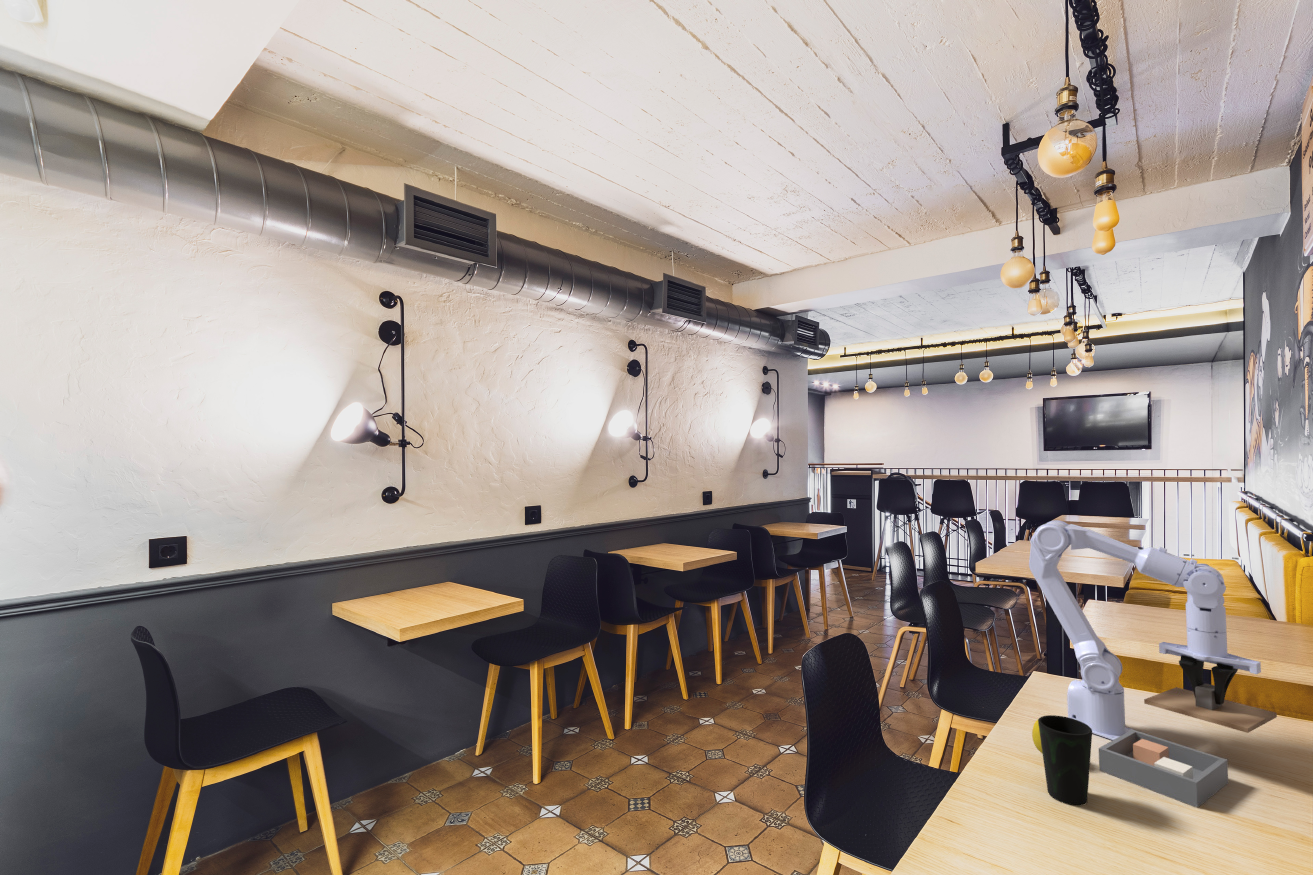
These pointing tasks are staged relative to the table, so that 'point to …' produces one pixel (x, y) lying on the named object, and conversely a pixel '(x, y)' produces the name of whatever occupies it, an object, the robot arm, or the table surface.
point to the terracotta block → (1149, 751)
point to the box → (1206, 770)
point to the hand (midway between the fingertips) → (1209, 700)
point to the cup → (1066, 758)
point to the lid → (1211, 708)
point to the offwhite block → (1175, 767)
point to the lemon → (1036, 736)
